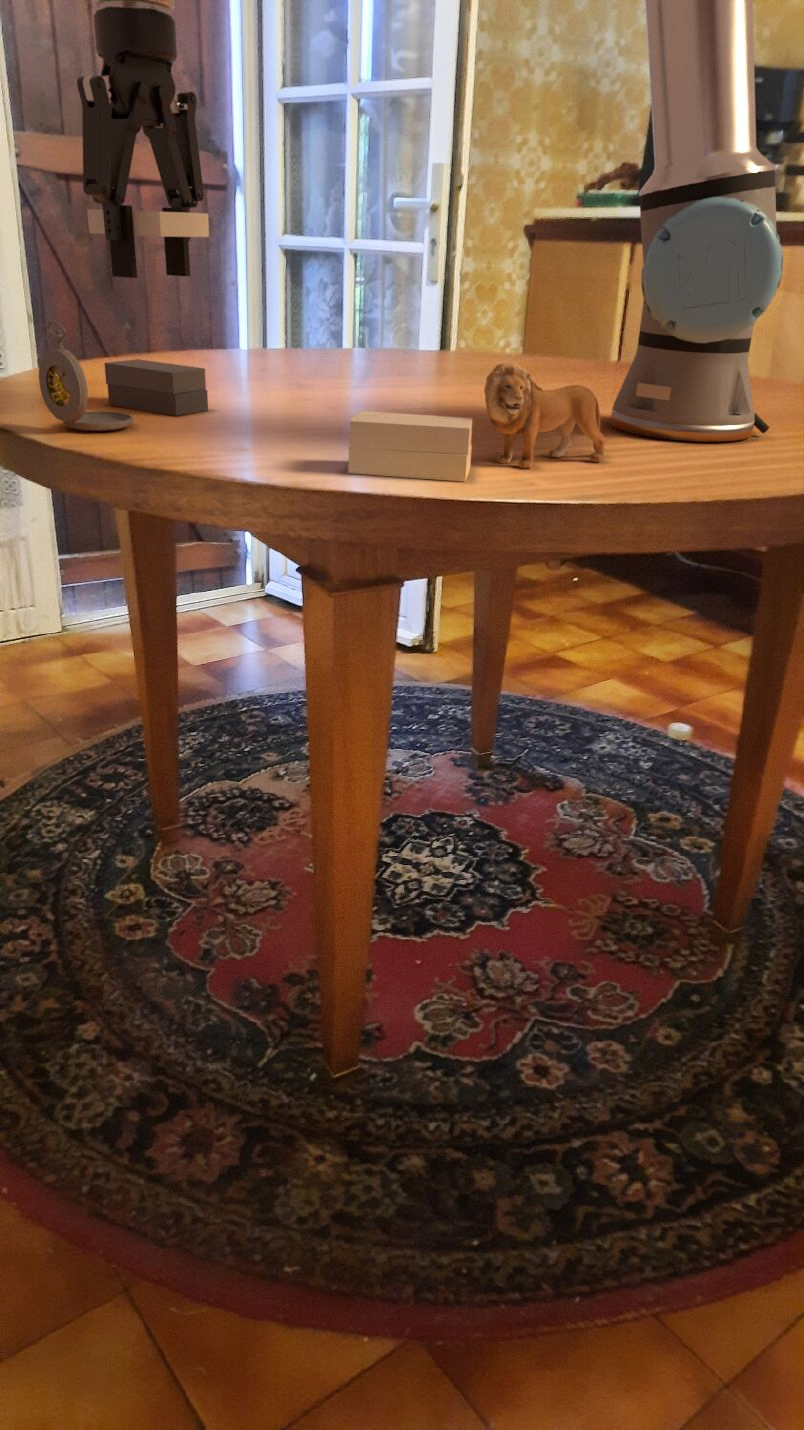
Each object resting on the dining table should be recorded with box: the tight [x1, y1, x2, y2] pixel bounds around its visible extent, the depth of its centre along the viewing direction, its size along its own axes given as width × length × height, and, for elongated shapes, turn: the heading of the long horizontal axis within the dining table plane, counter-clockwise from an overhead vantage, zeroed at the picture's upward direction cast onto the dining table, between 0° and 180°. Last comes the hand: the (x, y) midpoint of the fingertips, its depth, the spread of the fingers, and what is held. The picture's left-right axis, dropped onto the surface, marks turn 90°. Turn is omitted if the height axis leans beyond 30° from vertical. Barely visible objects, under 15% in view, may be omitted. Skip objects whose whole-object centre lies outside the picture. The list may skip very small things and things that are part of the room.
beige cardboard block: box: [347, 410, 474, 483], centre depth 87 cm, size 10×5×4 cm, turn 82°
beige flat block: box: [86, 208, 210, 238], centre depth 104 cm, size 10×7×2 cm
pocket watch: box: [38, 320, 134, 432], centre depth 97 cm, size 8×8×10 cm
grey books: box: [104, 358, 209, 417], centre depth 111 cm, size 10×5×4 cm, turn 58°
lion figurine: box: [483, 361, 605, 470], centre depth 92 cm, size 15×5×9 cm, turn 127°
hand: (152, 276), depth 106 cm, fingers closed on beige flat block, 7 cm apart
